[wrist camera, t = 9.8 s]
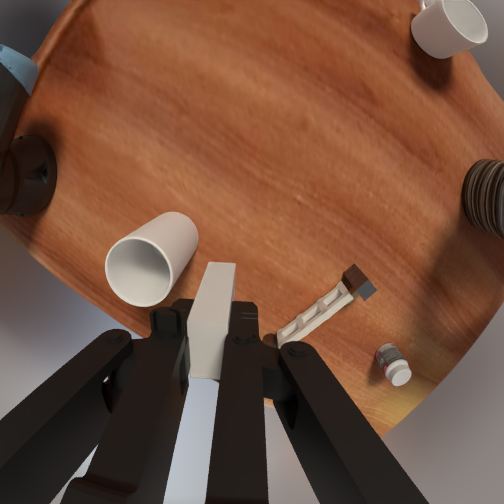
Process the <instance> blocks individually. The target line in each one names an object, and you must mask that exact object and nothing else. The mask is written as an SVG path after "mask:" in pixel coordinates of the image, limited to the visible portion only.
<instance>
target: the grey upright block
mask: <svg viewBox="0 0 504 504" xmlns="http://www.w3.org/2000/svg"><path fill="white" fill-rule="evenodd" d="M344 275H345V276H346V277H347V279H348V280H349V281H350V283H351V284H352V285H351V286H350V287H349V288H348V291H349V292H350V294H351V295H352V297H353V298H354V299H356V298H357V297H358V296H359V295H360V296H361V297H362V298H363V299H364V301H365V300H366V299H367V298H369V297H370V296H371V295H372V294H373V293H374V292H376V291H377V290H376V288H375V287H374V286H373V284H372V283H371V282H370V281H369V279H368V278H367V277H366V276H365V275H364V274H363V273H362V271H361V270H360V269H359V268H358V267H357V266H356V265H355V264H353V265H352V266H351V267H350V268H349V269H347V270H346V271H345V272H344ZM341 295H342V294H341ZM354 299H353V300H354ZM353 300H351V301H350V302H348V303H347V305H348V304H350V303H351V302H352V301H353Z"/></svg>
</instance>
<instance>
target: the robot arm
mask: <svg viewBox="0 0 504 504" xmlns="http://www.w3.org/2000/svg"><path fill="white" fill-rule="evenodd" d="M38 74H39V69H38V66H37V64H36V63H35V62H33V61H32V60H31V59H29V58H27V57H25V56H24V55H22V54H20V53H18V52H16V51H15V50H12V49H10V48H8V47H5V46H4V45H1V44H0V215H2V214H10V215H17V216H22V217H25V216H30V215H33V214H36V213H38V212H40V211H42V210H43V209H44V208H45V207H46V206H47V204H48V203H49V201H50V200H51V198H52V195H53V193H54V189H55V185H56V178H57V167H56V160H55V156H54V153H53V151H52V149H51V147H50V145H49V144H48V143H47V142H46V141H45V140H44V139H43V138H41V137H39V136H35V135H24V136H20V137H18V138H16V139H14V140H13V137H14V134H15V132H16V129H17V126H18V123H19V121H20V118H21V115H22V113H23V110H24V108H25V106H26V103H27V101H28V98H30V97H31V94H32V93H31V92H32V89H33V87H34V84H35V82H36V80H37V77H38ZM12 140H13V141H12ZM235 267H236V263H220V262H209V263H208V266H207V268H206V271H205V274H204V276H203V279H202V282H201V284H200V287H199V290H198V292H197V295H196V298H195V299H181V298H179V299H178V300H177V301H175V302H174V303H173V304H172V306H171V307H160V308H157V309H154V310H153V311H152V312H150V321H151V330H152V332H151V334H150V336H149V337H148V338H143V339H132V338H131V334H130V333H129V332H128V331H126V330H122V329H112V330H108V331H106V332H104V333H102V334H101V335H100V336H98V337H97V338H96V339H95V340H93V341H92V342H91V343H90V344H89V345H88V346H86V347H85V348H84V349H83V350H81V351H80V352H79V353H78V354H77V355H75V356H74V357H73V358H72V359H71V360H69V361H68V362H67V363H66V364H65V365H63V366H62V367H61V368H60V369H59V370H57V371H56V372H55V373H54V374H53V375H52V376H51V377H49V378H48V379H47V380H46V381H45V382H43V383H42V384H41V385H40V386H39V387H38V388H36V389H35V390H34V391H33V392H32V393H31V394H29V395H28V396H27V397H26V398H25V399H24V400H23V401H22V402H20V403H19V404H18V405H17V406H16V407H15V408H13V409H12V410H11V411H10V412H9V413H8V414H7V415H6V416H4V417H3V418H2V419H1V420H0V504H50V503H51V501H52V500H53V499H54V498H55V496H56V495H57V494H58V493H59V492H60V490H61V489H62V488H63V487H64V485H65V484H66V483H67V482H68V480H69V479H70V478H71V477H72V476H73V474H74V473H75V472H76V471H77V469H78V468H79V467H80V466H81V464H82V463H83V462H84V461H85V459H86V458H87V457H88V456H89V455H90V453H91V452H92V451H93V450H94V448H95V447H96V446H97V445H98V446H97V449H96V451H95V453H94V456H93V458H92V460H91V463H90V465H89V467H88V470H87V472H86V474H85V475H84V476H83V477H76V478H74V479H72V480H71V481H70V483H69V485H68V486H67V488H66V491H65V493H64V495H63V498H62V500H61V503H60V504H163V500H164V495H165V491H166V485H167V480H168V476H169V471H170V466H171V462H172V457H173V452H174V448H175V443H176V439H177V434H178V429H179V425H180V421H181V417H182V412H183V408H184V403H185V399H186V395H187V391H188V387H189V382H188V374H189V370H190V376H191V377H193V378H205V379H218V380H220V382H219V390H218V398H217V406H216V415H215V423H214V432H213V440H212V448H211V456H210V465H209V474H208V483H207V492H206V500H205V504H269V501H268V483H267V481H268V480H267V459H266V438H265V417H264V397H265V398H269V399H273V404H274V407H275V409H276V411H277V413H278V415H279V418H280V420H281V422H282V424H283V427H284V429H285V431H286V433H287V435H288V438H289V440H290V442H291V444H292V446H293V449H294V451H295V453H296V455H297V457H298V459H299V461H300V463H301V465H302V468H303V470H304V472H305V474H306V476H307V478H308V480H309V482H310V484H311V486H312V488H313V491H314V492H315V495H316V497H317V499H318V500H319V503H320V504H429V503H428V501H427V500H426V499H425V498H424V496H423V495H422V493H421V492H420V491H419V489H418V488H417V487H416V485H415V484H414V483H413V481H412V480H411V479H410V477H409V476H408V475H407V473H406V472H405V471H404V469H403V468H402V467H401V466H400V464H399V463H398V461H397V460H396V459H395V458H394V456H393V455H392V453H391V452H390V451H389V449H388V448H387V446H386V445H385V444H384V442H383V441H382V440H381V438H380V437H379V436H378V434H377V433H376V432H375V430H374V429H373V428H372V426H371V425H370V424H369V422H368V421H367V419H366V418H365V417H364V415H363V414H362V413H361V411H360V410H359V409H358V407H357V406H356V405H355V403H354V402H353V400H352V399H351V398H350V396H349V395H348V394H347V392H346V391H345V390H344V388H343V387H342V385H341V384H340V383H339V381H338V380H337V379H336V377H335V376H334V375H333V373H332V372H331V370H330V369H329V368H328V366H327V365H326V364H325V362H324V361H323V360H322V358H321V357H320V355H319V354H318V353H317V351H316V350H315V349H314V348H313V347H312V346H311V345H310V344H307V343H305V342H301V341H290V342H286V343H284V344H283V345H281V347H280V349H278V348H274V347H271V346H268V345H266V344H264V343H263V342H262V341H261V339H260V337H259V327H258V307H257V306H256V305H255V304H254V303H253V302H242V301H234V294H235ZM107 376H108V380H107V381H106V382H103V381H104V380H105V378H106V377H107ZM98 443H99V444H98Z"/></svg>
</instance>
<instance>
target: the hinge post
mask: <svg viewBox="0 0 504 504" xmlns="http://www.w3.org/2000/svg"><path fill="white" fill-rule="evenodd" d="M263 343H264V344H266V345H268V346H271V347H274V348H278V345H277V337H276V336H275V335H274V334H267V335H265V336H264V338H263Z"/></svg>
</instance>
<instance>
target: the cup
mask: <svg viewBox="0 0 504 504" xmlns="http://www.w3.org/2000/svg"><path fill="white" fill-rule="evenodd" d="M198 241H199V236H198V231H197V228H196V226H195V224H194V223H193V222H192V220H191V219H190V218H188V217H187V216H185V215H184V214H181V213H178V212H167V213H163V214H161V215H160V216H158V217H156V218H155V219H153V220H151V221H150V222H148V223H146V224H145V225H143V226H142V227H140V228H138V229H137V230H135V231H134V232H132V233H130V234H129V235H127V236H126V237H124V238H123V239H121V240H119V241H118V242H117V243H116V244H115V245H114V246H113V247H112V248H111V249H110V251H109V253H108V255H107V257H106V262H105V272H106V277H107V280H108V282H109V284H110V286H111V288H112V289H113V291H114V292H115V293H116V294H117V295H118V296H119V297H120V298H121V299H122V300H124V301H125V302H127V303H129V304H132V305H135V306H139V307H148V306H153V305H155V304H157V303H159V302H161V301H162V300H163V299H164V298H165V297H166V296H167V295H168V293H169V292H170V290H171V289H172V287H173V285H174V284H175V282H176V281H177V279H178V277H179V276H180V274H181V273H182V271H183V269H184V268H185V266H186V265H187V263H188V262H189V260H190V258H191V257H192V255H193V254H194V252H195V251H196V249H197V246H198Z"/></svg>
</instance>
